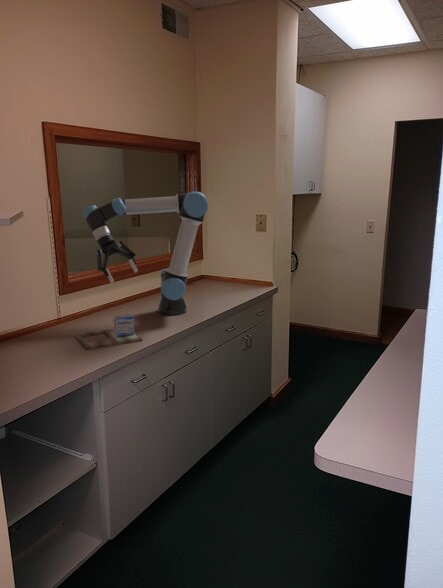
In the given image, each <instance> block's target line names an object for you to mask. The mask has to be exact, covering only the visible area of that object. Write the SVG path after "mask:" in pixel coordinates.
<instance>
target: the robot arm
mask: <svg viewBox="0 0 443 588" xmlns="http://www.w3.org/2000/svg"><path fill="white" fill-rule="evenodd" d="M208 209H209V201H208V198H207V197H206V195H205V194H204V193H202V192H200V191H195V190H194V191H193V190H191V191H188V192H185V193H176V195H174V196H173V195H172V196H161V197H159V196H158V197H145V198H144V197H142V198H130V199H122V198H121V197H116V198H114V199H112V200H110V201H109V202H106V203H105V204H103V205H101V206H98V207H97V205H95V204H93V205H90V206H87V207H86V208H84V209H83V211H82V215H83V217H84V219H85V222H86V224H87V226H88V227H89V229H90V231H91V233H92V235H93V237H94V238H95V240H96V242H97V244H98V247H99V248H100V249H97V250H96V251H95V255H96V259H97V260H96V262H97V263H96V264H97V271H98V272H102V273H103V275H104V277H105V278H107V279H108V280H109V283H110V284H113V283H114V282H115V280H114V278H113V276H112V274H111V272H110V269H109V268H107V265H108V260H109V257H111V256H113V255H120V256H122V257H124V258H125V259H128V263H129V265H130V266H131V268H132V270H133V272H134V273H135V274H136V273H137V272H138V271H139V269H138V267H137V266H136V265H137V262H136V259H134V258H135V256H136V253H135V252H133V251H132V250H131V249H130V248H129V247H128V246H126V245H125V244H124V243H123V241H122V240H120V241H119V242H117V243H116V241H115V238H114V236H113V235H112V234H111V231H110V229H109V228H108V226H107V222H109V221H111V220H114V219H115V218H117V217H119V216H127V215H140V214H141V215H142V214H157V213H158V214H159V213H171V212H176V213H177V214H179V217H180V219H181V222H180V227H179V229H178V233H177V237H176V241H175V244H174V249H173V253H172V256H171V260H170V264H169V267H167V268H165V269H161V270H160V290H161V291H160V296H161V297H160V300H159V303H158V308H157V309H158V313H159V314H161V315H165V316H166V315H168V316H175V315H176V316H177V315H182V314H185V313H187V304H186V301H185V298H184V295H185V293H186V291H187V287H186V285H187V282H188V277H189V275H188V273H187V270H188V265H189V264H190V258H191V256H192V251H193V248H194V244H195V242H196V241H195V240H196V236H197V233H198V229H199V226H200V225H201V224H203V222H204V219H205V216H206V213H207V211H208ZM121 249H122V250H121ZM102 254H103V255H104V256H103V261H102Z"/></svg>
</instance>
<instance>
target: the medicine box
mask: <svg viewBox="0 0 443 588" xmlns="http://www.w3.org/2000/svg"><path fill="white" fill-rule="evenodd" d="M134 322H135V319H134V316H133V315H132V314H125V315H123V314H121V315H113V328H114V335H115V336H117V337H123V336H129V335H134V332H135V324H134Z"/></svg>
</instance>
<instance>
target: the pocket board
mask: <svg viewBox="0 0 443 588" xmlns="http://www.w3.org/2000/svg"><path fill="white" fill-rule="evenodd" d="M103 334H104V335H106V336H107V337H108V338H105V339H98V340H93V341H86V340H85V339H84V337H90V336H91V337H92V336H97V335H103ZM75 337H76V338H77V340H78V341H79V342H80V343H81V345H82V346H83V347H84V348H85V349H86V351H87V350H94V349H99V348H105V347H113V346H119V345H124V344H131V343H137V342H142V341H143V338H142V337H141V336H140V335H139V334H137V333H136V332H135V331H134V335H129V336H123V337H117V336H115V335H114V327H112V328H108V329H107V328H106V329H100V330H93V331H86V332H79V333H75Z"/></svg>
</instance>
